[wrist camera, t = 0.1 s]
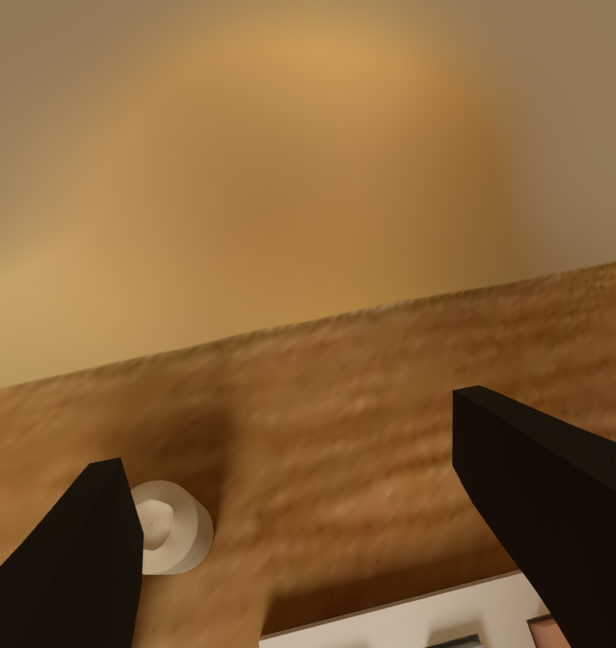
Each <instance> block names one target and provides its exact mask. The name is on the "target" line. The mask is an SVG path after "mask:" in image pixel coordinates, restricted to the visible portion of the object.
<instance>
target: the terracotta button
mask: <svg viewBox="0 0 616 648" xmlns="http://www.w3.org/2000/svg"><path fill="white" fill-rule="evenodd" d="M527 624H528V627H529V630H530V633H531V635H532V638H533V641H534V644H535V647H536V648H571V647H570V645H569V643H568V642H567V640H566V638H565V637H564V635H563V633H562V632H561V630H560V628H559V627H558V625H557V623H556V621H555V620H554V618H553V617H549V618H546V619H542V620H538V621H535V622H531V623H527Z"/></svg>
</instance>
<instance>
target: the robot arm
mask: <svg viewBox="0 0 616 648" xmlns="http://www.w3.org/2000/svg"><path fill="white" fill-rule="evenodd" d="M452 465H453V467H454V469H455V471H456V473H457V475H458V477H459V479H460V481H461V483H462V485H463V487H464V488H465V490H466V492H467V494H468V496H469V497H470V499H471V501H472V503H473V504H474V506H475V507H476V509H477V510H478V512H479V513H480V515H481V516H482V517H483V519H484V520H485V522H486V523H487V524H488V526H489V527H490V529H491V530H492V531H493V533H494V534H495V536H496V537H497V538H498V540H499V541H500V542H501V544H502V545H503V547H504V548H505V549H506V551H507V552H508V553H509V555H510V556H511V558H512V559H513V560H514V562H515V563H516V565H517V566H518V567H519V569H520V570H521V571H522V573H523V574H524V576H525V577H526V578H527V580H528V581H529V582H530V584H531V585H532V587H533V588H534V589H535V591H536V592H537V594H538V595H539V597H540V598H541V600H542V601H543V603H544V604H545V606H546V607H547V609H548V610H549V612H550V613H551V615H552V616H553V618H554V620H555V621H556V623H557V625H558V627H559V628H560V630H561V632H562V633H563V635H564V637H565V638H566V640H567V642H568V643H569V645H570V647H571V648H616V442H614V441H611V440H609V439H606V438H603V437H601V436H598V435H596V434H593V433H590V432H588V431H585V430H583V429H581V428H578V427H576V426H573V425H571V424H568V423H566V422H564V421H561V420H559V419H557V418H554V417H552V416H550V415H547V414H545V413H543V412H541V411H538V410H536V409H534V408H532V407H529V406H527V405H525V404H523V403H520V402H518V401H516V400H514V399H511V398H509V397H507V396H504V395H502V394H500V393H497V392H495V391H493V390H490V389H488V388H485V387H482V386H479V385H477V386H473V387H468V388H463V389H458V390H453V449H452ZM143 546H144V532H143V529H142V526H141V523H140V519H139V516H138V513H137V510H136V507H135V503H134V500H133V497H132V494H131V490H130V487H129V484H128V481H127V477H126V474H125V471H124V468H123V464H122V461H121V458H115V459H110V460H105V461H100V462H95V463H90V464H89V465H88V466H87V467H86V468H85V469H84V470H83V472H82V473H81V474H80V475H79V476H78V477H77V479H76V480H75V481H74V482H73V483H72V485H71V486H70V487H69V488H68V489H67V491H66V492H65V493H64V494H63V496H62V497H61V498H60V499H59V500H58V502H57V503H56V504H55V505H54V506H53V508H52V509H51V510H50V511H49V512H48V513H47V515H46V516H45V517H44V518H43V519H42V520H41V522H40V523H39V524H38V525H37V526H36V527H35V529H34V530H33V531H32V532H31V533H30V535H29V536H28V537H27V538H26V539H25V540H24V541H23V542H22V544H21V545H20V546H19V547H18V548H17V549H16V550H15V551H14V552H13V553H12V554H11V555H10V556H9V558H8V559H7V560H6V561H5V562H4V563H3V564H2V565H1V566H0V648H131V644H132V638H133V633H134V627H135V621H136V615H137V609H138V603H139V597H140V590H141V584H142V570H143Z"/></svg>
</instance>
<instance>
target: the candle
mask: <svg viewBox="0 0 616 648" xmlns="http://www.w3.org/2000/svg"><path fill="white" fill-rule="evenodd" d="M131 494H132V497H133V500H134V503H135V507H136V510H137V513H138V516H139V519H140V523H141V526H142V529H143V532H144V546H143V570H142V574H145V575H175V574H181V573H185V572H187V571H189V570H191V569H193V568H195V567H196V566H197V565H198V564H200V563H201V562H202V561H203V559H204V558H205V557H206V555H207V554H208V552H209V550H210V547H211V545H212V541H213V534H214V530H213V523H212V519H211V517H210V515H209V513H208V511H207V510H206V509H205V507H204V506H203V505H202V504H201V503H200V502H198V501H197V500H196V499H195V498H194V497H193V496H192V495H191V494H189V493H188V492H187V491H186V490H185V489H184V488H182V487H181V486H179V485H178V484H175V483H173V482H170V481H164V480H154V481H149V482H145V483H143V484H140V485H138V486H136V487H135V488H133V489H132V490H131Z"/></svg>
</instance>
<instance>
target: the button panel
mask: <svg viewBox="0 0 616 648" xmlns="http://www.w3.org/2000/svg"><path fill="white" fill-rule="evenodd" d="M549 617H553V616H552V615H551V613H550V612H549V610H548V609H547V607H546V606H545V604H544V603H543V601H542V600H541V598H540V597H539V595H538V594H537V592H536V591H535V589H534V588H533V587H532V585H531V584H530V582H529V581H528V580H527V578H526V577H525V576H524V574H523V573H522V571H521V570H516V571H512V572H508V573H504V574H500V575H496V576H492V577H489V578H485V579H481V580H477V581H473V582H469V583H465V584H461V585H458V586H454V587H450V588H446V589H442V590H438V591H434V592H430V593H427V594H423V595H419V596H415V597H411V598H407V599H403V600H399V601H395V602H392V603H388V604H384V605H380V606H376V607H372V608H368V609H364V610H361V611H357V612H353V613H349V614H345V615H341V616H337V617H333V618H330V619H326V620H322V621H318V622H314V623H310V624H306V625H302V626H298V627H295V628H291V629H287V630H283V631H279V632H275V633H271V634H267V635H264V636H260V638H259V648H440V647H443V646H447V645H451V644H454V643H458V642H462V641H465V640H472V641H475V642H478V643H481V644H483V645H484V648H536V647H535V644H534V641H533V638H532V635H531V633H530V630H529V627H528V624H527V623H531V622H535V621H538V620H542V619H546V618H549Z"/></svg>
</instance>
